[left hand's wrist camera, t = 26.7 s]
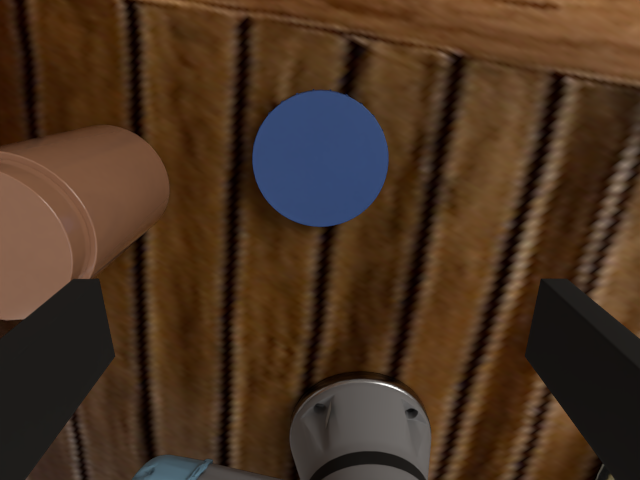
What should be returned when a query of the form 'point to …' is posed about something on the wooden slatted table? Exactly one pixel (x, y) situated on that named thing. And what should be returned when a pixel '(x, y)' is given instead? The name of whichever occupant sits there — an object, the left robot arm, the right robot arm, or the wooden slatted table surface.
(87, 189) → the jar
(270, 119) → the lid
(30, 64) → the wooden slatted table surface
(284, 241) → the wooden slatted table surface
